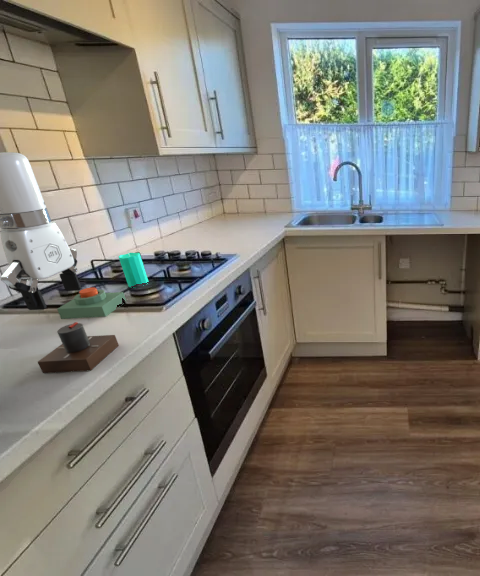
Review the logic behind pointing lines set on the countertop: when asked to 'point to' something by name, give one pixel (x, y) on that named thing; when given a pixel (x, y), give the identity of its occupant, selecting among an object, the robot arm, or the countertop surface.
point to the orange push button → (88, 292)
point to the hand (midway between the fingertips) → (56, 299)
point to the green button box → (91, 305)
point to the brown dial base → (79, 356)
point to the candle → (133, 268)
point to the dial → (73, 337)
